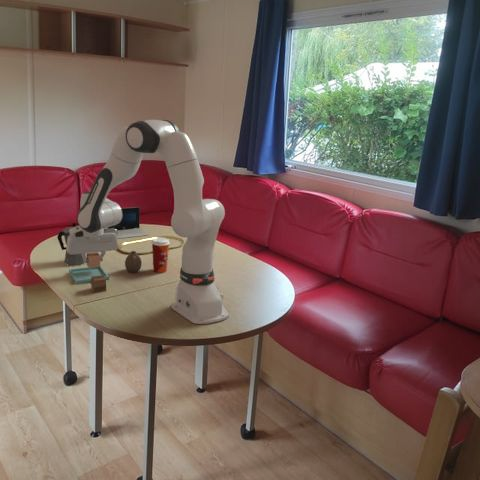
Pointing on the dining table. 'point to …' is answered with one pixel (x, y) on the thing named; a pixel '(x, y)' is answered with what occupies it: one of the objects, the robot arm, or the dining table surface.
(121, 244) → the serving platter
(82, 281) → the tray
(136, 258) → the vase
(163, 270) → the paper cup
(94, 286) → the walnut block
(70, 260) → the coffeepot
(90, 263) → the terracotta block
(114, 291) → the dining table surface
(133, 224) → the laptop
